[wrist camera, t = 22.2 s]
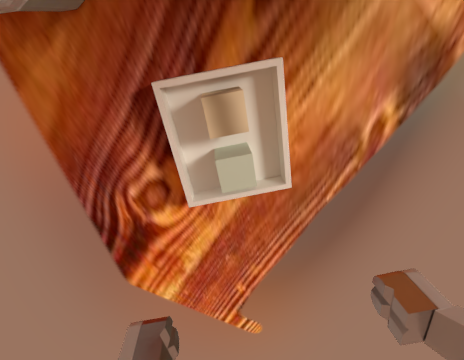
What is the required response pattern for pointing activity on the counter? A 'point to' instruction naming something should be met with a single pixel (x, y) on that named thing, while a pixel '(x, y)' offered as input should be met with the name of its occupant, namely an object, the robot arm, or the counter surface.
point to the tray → (258, 138)
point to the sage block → (235, 167)
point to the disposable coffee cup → (38, 5)
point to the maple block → (225, 112)
